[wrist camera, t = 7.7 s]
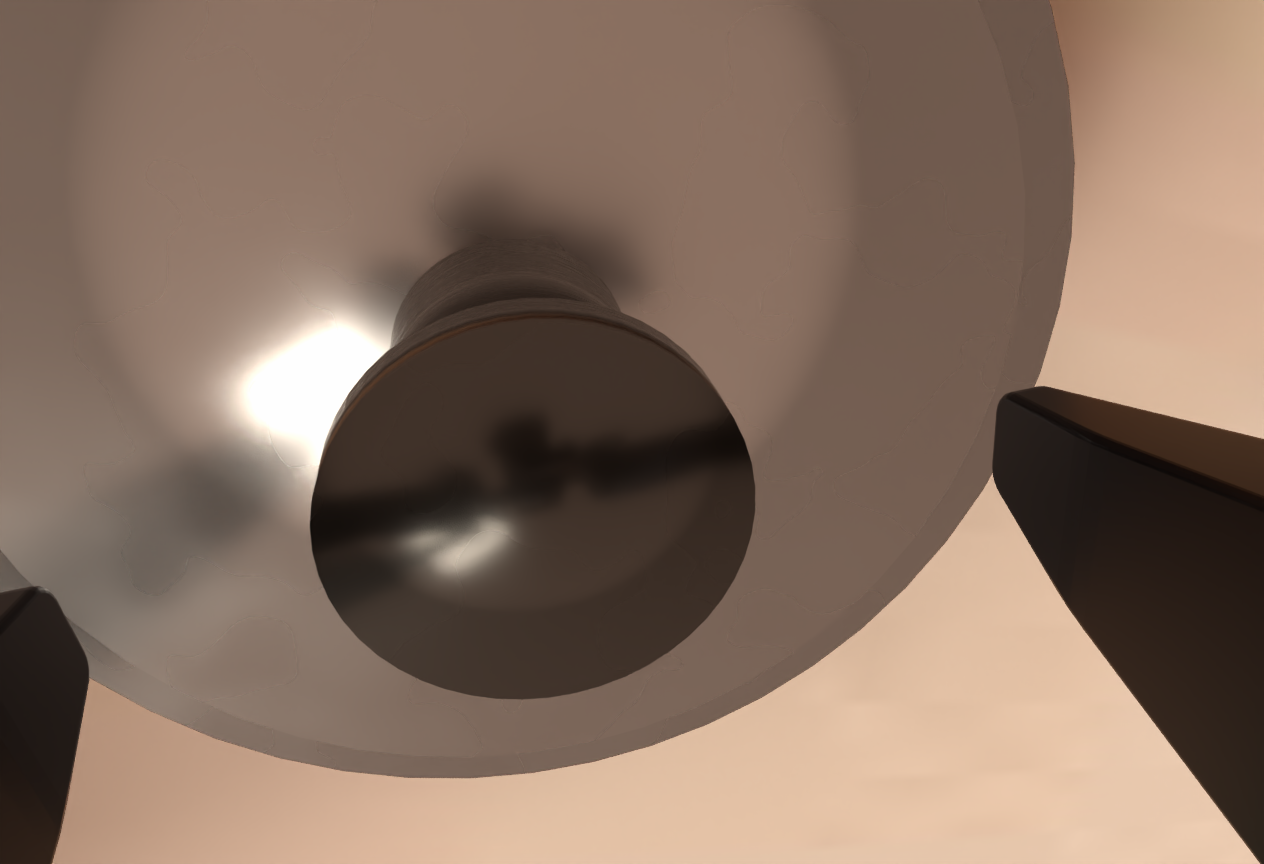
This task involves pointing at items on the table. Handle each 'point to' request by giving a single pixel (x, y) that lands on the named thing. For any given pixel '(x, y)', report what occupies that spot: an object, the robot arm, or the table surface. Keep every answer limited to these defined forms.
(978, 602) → the table surface
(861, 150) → the lid
